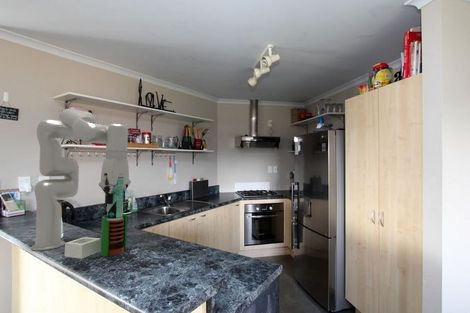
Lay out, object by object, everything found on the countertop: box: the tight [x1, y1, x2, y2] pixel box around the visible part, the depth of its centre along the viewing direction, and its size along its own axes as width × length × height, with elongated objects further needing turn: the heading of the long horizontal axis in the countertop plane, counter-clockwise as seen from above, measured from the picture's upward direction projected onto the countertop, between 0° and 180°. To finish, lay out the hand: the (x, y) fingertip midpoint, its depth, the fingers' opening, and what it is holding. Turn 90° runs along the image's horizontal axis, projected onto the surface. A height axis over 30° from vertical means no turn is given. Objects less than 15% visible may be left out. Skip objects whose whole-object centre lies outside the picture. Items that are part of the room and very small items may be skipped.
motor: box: [100, 206, 128, 257], centre depth 107 cm, size 10×9×20 cm
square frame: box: [64, 236, 101, 259], centre depth 105 cm, size 9×9×6 cm
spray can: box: [106, 174, 124, 221], centre depth 95 cm, size 6×6×20 cm
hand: (115, 202), depth 95 cm, fingers closed on spray can, 5 cm apart
